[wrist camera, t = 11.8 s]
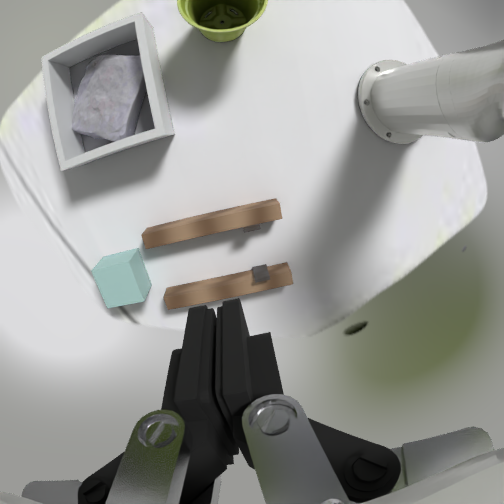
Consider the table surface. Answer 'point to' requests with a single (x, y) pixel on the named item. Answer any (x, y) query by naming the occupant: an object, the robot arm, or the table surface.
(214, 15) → the plant pot
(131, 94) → the stone block
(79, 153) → the holder
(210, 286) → the wooden rail pair
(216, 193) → the table surface
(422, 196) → the table surface
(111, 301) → the block
